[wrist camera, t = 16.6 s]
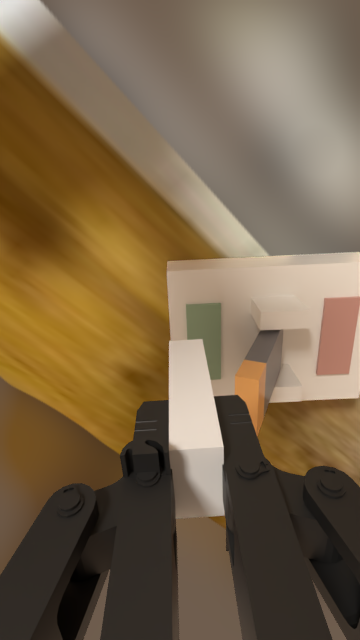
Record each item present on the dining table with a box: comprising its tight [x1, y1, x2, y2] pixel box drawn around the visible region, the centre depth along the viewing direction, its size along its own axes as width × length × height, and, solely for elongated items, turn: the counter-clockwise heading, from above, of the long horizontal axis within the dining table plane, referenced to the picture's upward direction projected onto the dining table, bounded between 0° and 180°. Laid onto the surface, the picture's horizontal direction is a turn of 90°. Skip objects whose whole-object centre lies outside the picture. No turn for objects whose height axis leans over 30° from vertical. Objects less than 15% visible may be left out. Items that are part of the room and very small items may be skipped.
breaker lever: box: [235, 329, 284, 437], centre depth 35 cm, size 2×6×14 cm, turn 2°
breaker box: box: [167, 252, 360, 403], centre depth 42 cm, size 24×18×10 cm
